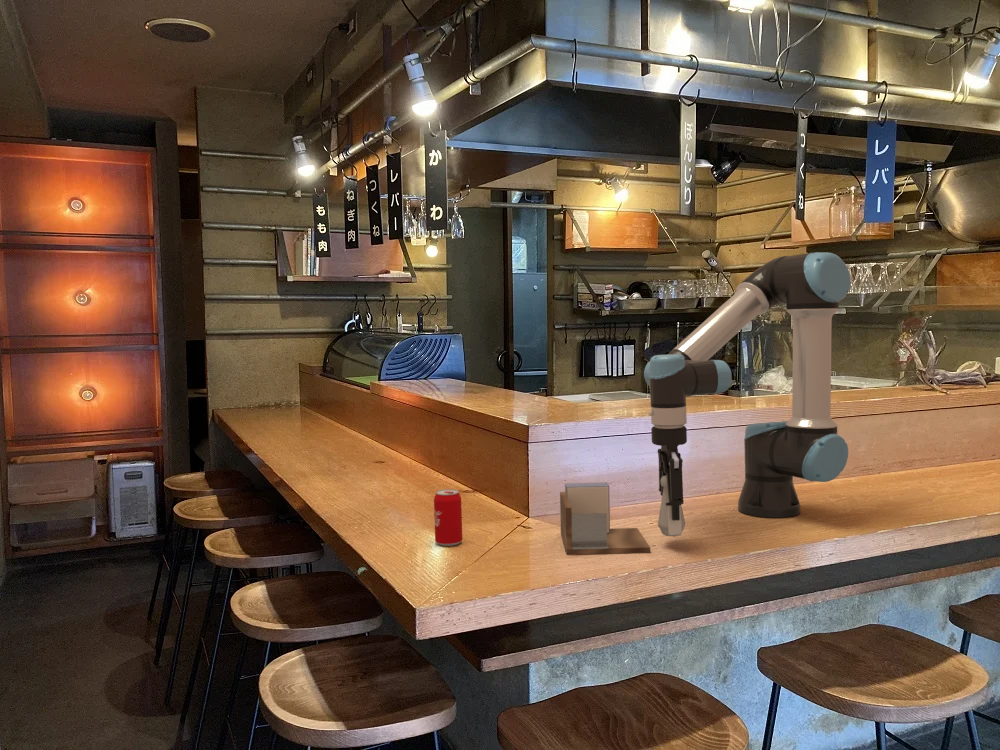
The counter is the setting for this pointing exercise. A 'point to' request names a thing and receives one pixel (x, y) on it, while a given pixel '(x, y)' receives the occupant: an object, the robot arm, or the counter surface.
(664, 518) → the salt shaker
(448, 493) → the beverage can
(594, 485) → the book block
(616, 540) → the wooden l-bracket
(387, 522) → the counter surface
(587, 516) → the bookend
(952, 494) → the counter surface
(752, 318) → the robot arm
